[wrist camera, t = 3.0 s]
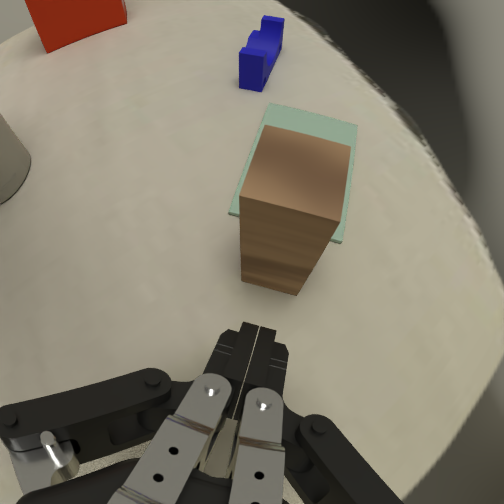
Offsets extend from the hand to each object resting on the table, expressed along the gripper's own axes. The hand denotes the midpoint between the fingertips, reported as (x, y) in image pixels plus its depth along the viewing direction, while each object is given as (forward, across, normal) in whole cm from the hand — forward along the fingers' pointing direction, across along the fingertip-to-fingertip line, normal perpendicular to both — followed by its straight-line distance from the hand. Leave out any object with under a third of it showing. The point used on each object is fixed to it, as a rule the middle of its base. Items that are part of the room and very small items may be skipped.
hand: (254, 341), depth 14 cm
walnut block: (+15, 0, +3) cm, 16 cm away
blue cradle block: (+35, +10, -17) cm, 40 cm away
